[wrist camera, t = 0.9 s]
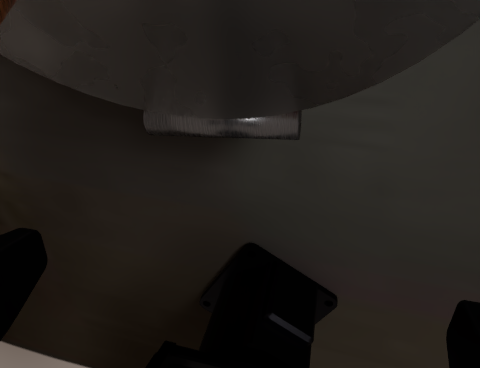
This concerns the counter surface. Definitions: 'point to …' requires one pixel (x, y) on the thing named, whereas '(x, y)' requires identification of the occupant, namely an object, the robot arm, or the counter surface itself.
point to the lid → (226, 54)
